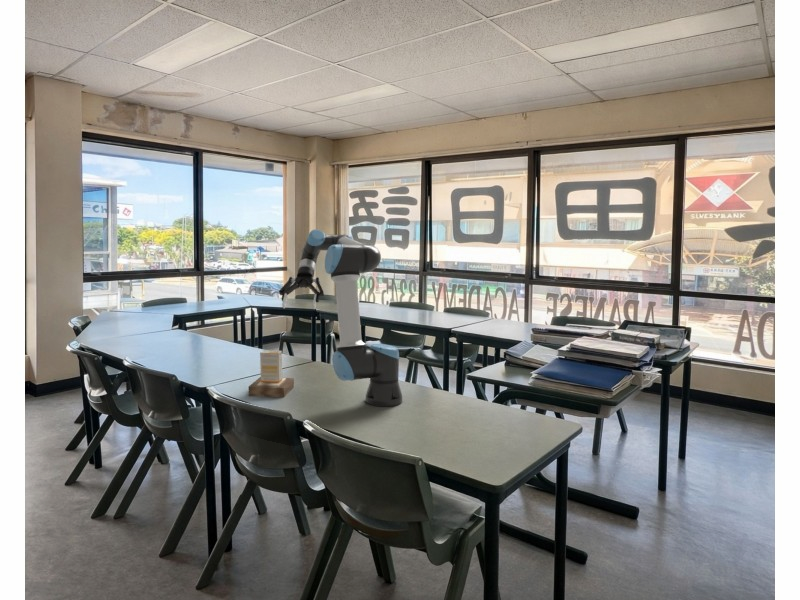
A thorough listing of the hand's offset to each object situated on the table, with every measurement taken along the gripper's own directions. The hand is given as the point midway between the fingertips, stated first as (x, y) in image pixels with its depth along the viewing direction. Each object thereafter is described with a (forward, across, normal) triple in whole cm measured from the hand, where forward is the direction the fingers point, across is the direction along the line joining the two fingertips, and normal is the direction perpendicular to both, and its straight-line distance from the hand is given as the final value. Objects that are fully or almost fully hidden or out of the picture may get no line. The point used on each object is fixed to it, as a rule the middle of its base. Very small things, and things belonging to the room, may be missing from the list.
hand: (298, 307), depth 236 cm
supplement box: (+30, +9, -13) cm, 34 cm away
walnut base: (+33, +9, -16) cm, 38 cm away
